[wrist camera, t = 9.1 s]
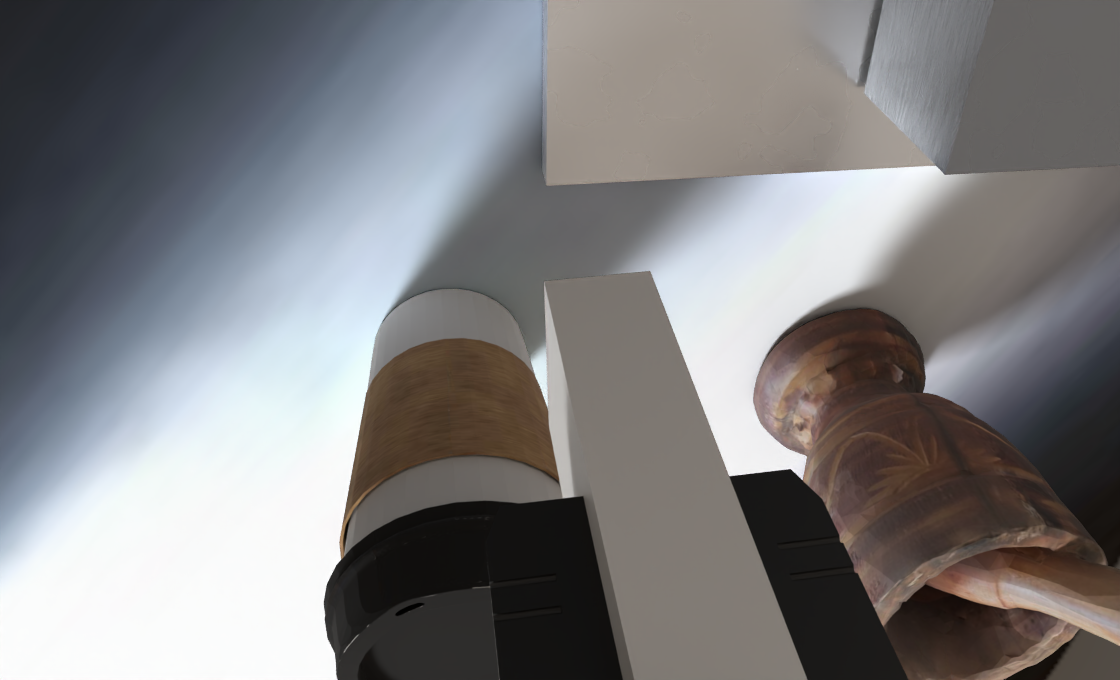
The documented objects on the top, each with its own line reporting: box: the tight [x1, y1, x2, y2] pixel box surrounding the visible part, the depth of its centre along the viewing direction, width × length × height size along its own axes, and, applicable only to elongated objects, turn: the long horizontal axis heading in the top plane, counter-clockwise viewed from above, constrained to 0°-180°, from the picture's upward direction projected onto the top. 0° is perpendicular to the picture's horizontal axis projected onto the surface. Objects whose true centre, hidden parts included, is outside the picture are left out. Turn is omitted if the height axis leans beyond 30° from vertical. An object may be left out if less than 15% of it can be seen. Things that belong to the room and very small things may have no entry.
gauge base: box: [542, 0, 935, 186], centre depth 30 cm, size 12×24×6 cm, turn 89°
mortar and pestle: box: [753, 309, 1120, 680], centre depth 33 cm, size 12×9×20 cm
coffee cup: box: [324, 289, 563, 680], centre depth 32 cm, size 8×8×15 cm
